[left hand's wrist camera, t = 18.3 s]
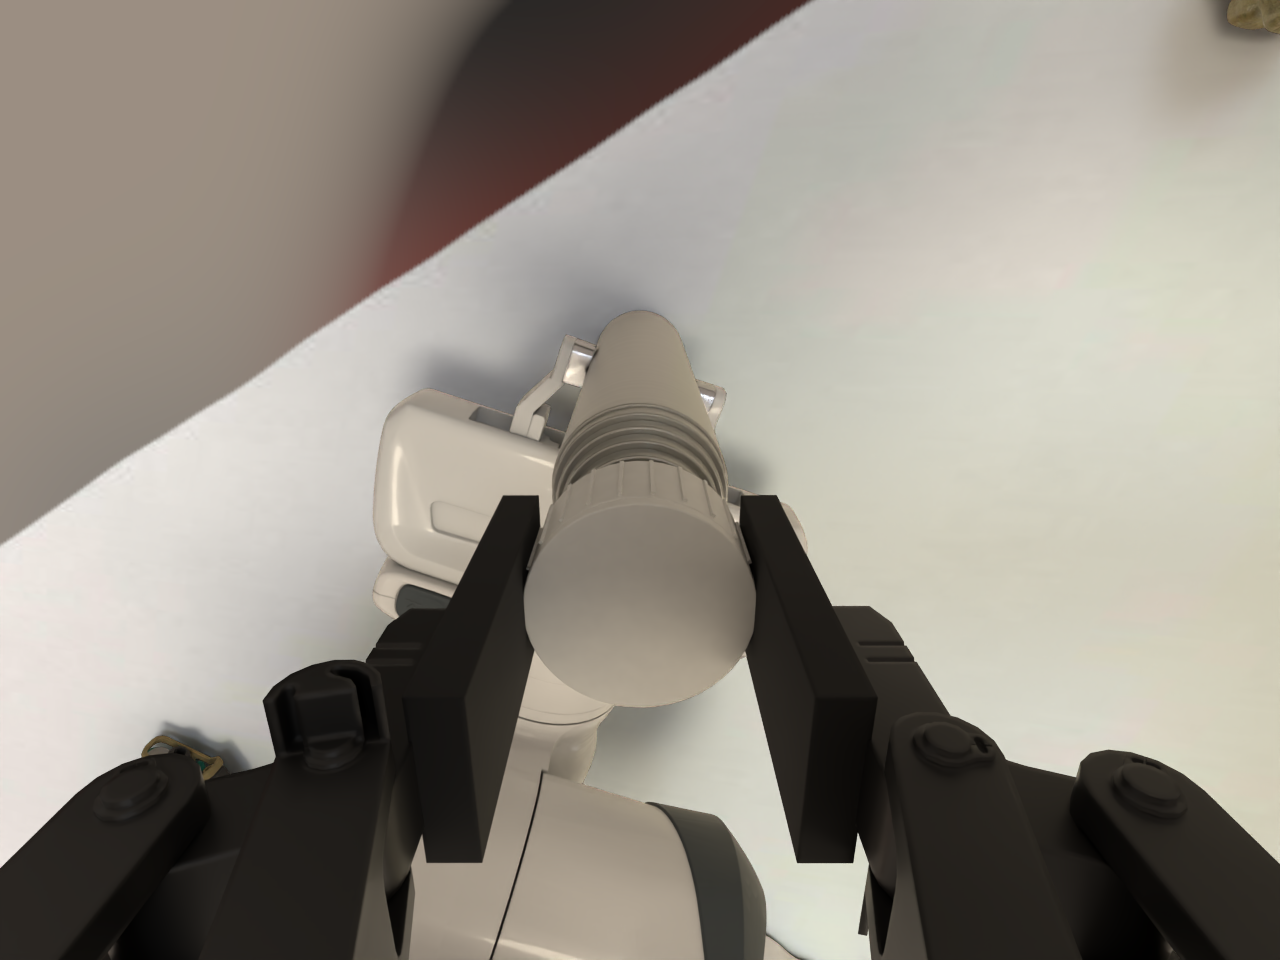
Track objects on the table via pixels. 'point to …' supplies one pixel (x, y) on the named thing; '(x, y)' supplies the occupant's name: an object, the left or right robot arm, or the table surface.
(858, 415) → the table surface
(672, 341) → the bottle
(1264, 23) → the sculpture
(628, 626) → the cap
